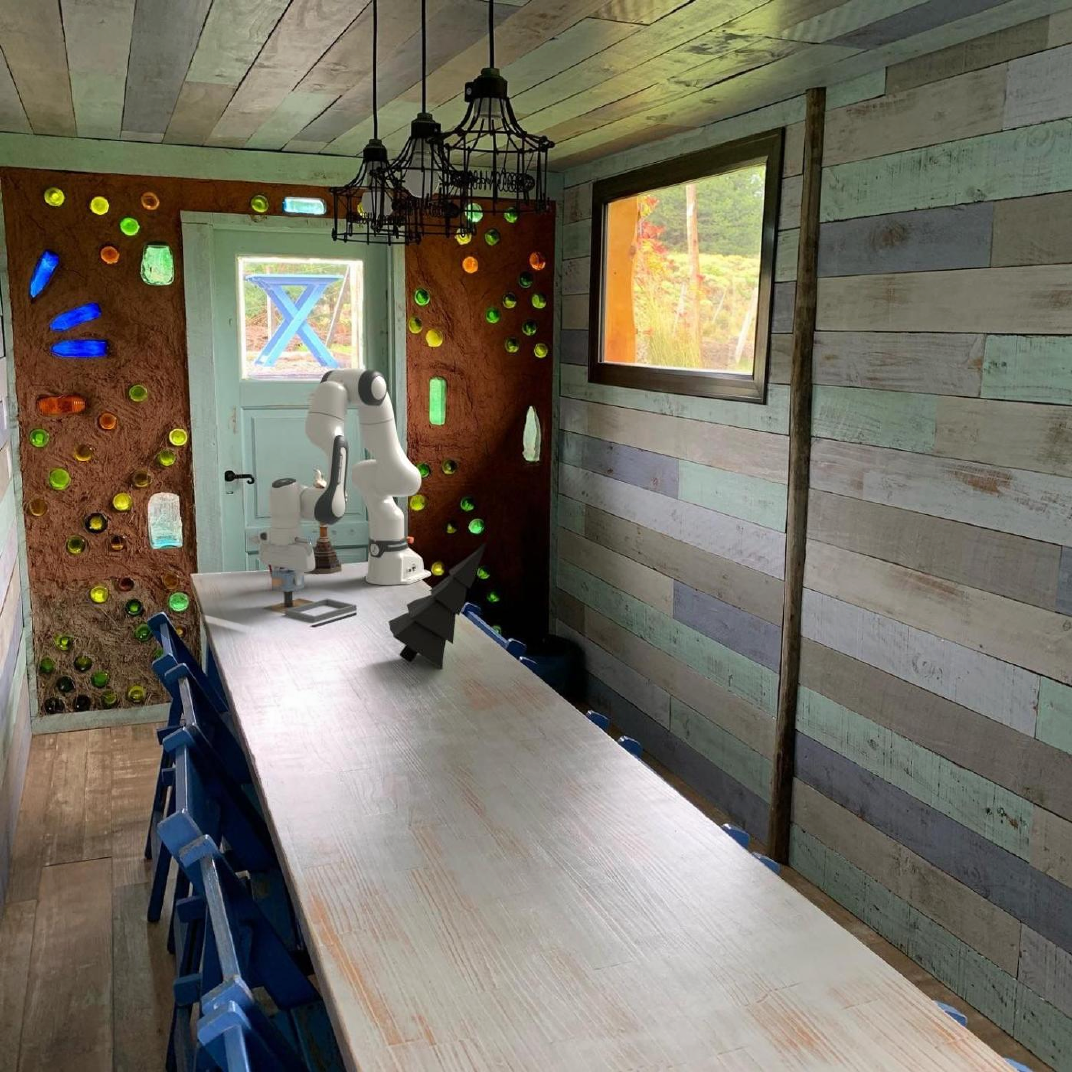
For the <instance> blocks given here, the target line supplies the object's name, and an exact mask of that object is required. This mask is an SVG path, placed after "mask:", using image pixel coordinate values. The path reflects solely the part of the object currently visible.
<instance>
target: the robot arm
mask: <svg viewBox="0 0 1072 1072" xmlns="http://www.w3.org/2000/svg"><path fill="white" fill-rule="evenodd" d="M309 404H310V405H309V408H308V410H307V411H308V412H307V416H306V418H305V423H304V432H305V435H306V438H307V439H308V441H310V443H312V445H314V446H315V447H317V448H318V449H320V450H321V451H323V452H324V453H325V454H326V457H327V461H328V462H327V473H326V486H325V488H324V489H318V488H316V487H313V486H312V487H311V486H307V485H304V484H301V483H299V482H298V480H297V479H296V478H293V477H285V478H279V479H276V480H274V481H273V482H271V485H270V488H269V492H268V493H269V495H268V512H269V514H270V522H269V529H267V530H264V531H260V532H258V534H257V535H258V539H259V543H258V555H259V556H258V557H259V561H260V562H261V563H262V564H264V565H267V566H268V565H271V569H272V571H277V570H279V568H280V567H283V568H287V569H292V570H295V574H297V575H296V578H294V579H293V584H294V585H301V578H302V576H303V574H304V575H305V573H310V572H309V571H313V570H314V568H315V558H314V551H313V550H314V549H313V544H312V543H311V542H310V541H309V540H308V539H306V538H303V534H302V533H303V532H302V531H303V529H302V528H303V527H302V522H301V520H306V521H310V522H318V523H319V522H320V523H324V524H327V525H328V526H332V525H336V524H337V523H338V522H339V521H340V520H342V518H343V517H344V515H345V514H346V510H347V502H346V499H347V498H346V496H345V491H346V489H347V477H348V466H349V465H348V463H349V453H350V451H349V444H348V443H349V442H348V440H347V439H346V438H345V423H346V418H347V413H348V408H349V406H350V407H351V406H352V407H354V406H356V408H357V416H358V422H359V429H360V436H361V442H362V445H363V448H364V449H365V450H366V451H368V452H369V454H370V455H371V456H373V459H365V460H359V461H358V462H356V463H355V464H354V466H353V467H352V470H351V473H350V474H351V475H350V480H351V483H352V485H353V486H354V488H355V489H356V490H358V491H357V492H359V493H360V495H361V497H362V498H363V501H364V503H365V506H366V507H365V508H367V509H366V510H367V513H368V522H369V523H368V525H369V537H368V542H367V543H368V549H369V552H368V559H367V560H368V561H367V572H366V573H365V582H367V583H369V584H373V585H382V586H392V585H411V584H413V583H416V582H418V581H420V580H423V579H425V578H428V577H430V576H431V575H432V573H431V571H429V570H427V569H424V568H425V567H424V561H423V558H422V557H421V556H420V555H419V554H418V553H416V552H415V551H413V549H411V548H410V547H409V544H413V543H414V540H415V539H414V537H412V536H407V537H405V515H404V513H403V510H402V509H401V508H400V507H399V506H398V505H397V504H396V502H395V500H394V498H395V497H396V498H405V497H412V496H414V495H416V494H417V493H418V492H419V490H420V488H421V486H422V475H421V472H420V471H419V469H418V468H417V467H416V466H415V465H414V464H412V462H411V461H410V460H409V459H408V457H407V455H406V454H405V451H404V450H403V448H402V446H401V444H400V439H399V436H398V432H397V425H396V419H395V414H394V408H393V405H392V401H391V397H390V394H389V393H388V385H387V380H386V379H385V377H384V376H383V374H382V373H381V372H379V371H377V370H373V369H362V368H347V369H345V368H344V369H337V368H336V369H331V370H328V371H326V372H325V373H324V374H323V376H322V377H321V380H320V382H319V384H318V385H317V388H316V389H315V391H314V393H313V396H312V398H311V401H310V403H309ZM393 497H394V498H393ZM418 579H419V580H418Z"/></svg>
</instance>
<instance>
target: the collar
mask: <svg viewBox="0 0 1072 1072" xmlns="http://www.w3.org/2000/svg"><path fill="white" fill-rule="evenodd" d="M271 575H272V578H271V589H273V590H278V591H281V592H284V591H285V592H289V591H292V592H293V591H298V590H300V589H304V588H305V587H306V586H305V573H304V574H303V576H302V578H301V585H294V584H293V579H294V578H296V575H297V574H295V570H292V569H287V568H285V569H281V570H277V571H272V572H271V574H270V576H271Z"/></svg>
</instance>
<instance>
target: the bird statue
mask: <svg viewBox="0 0 1072 1072" xmlns="http://www.w3.org/2000/svg"><path fill="white" fill-rule="evenodd" d="M313 472H314V473H315V475H314V476H313V478H314V479H313V481H312V482H313V483H312V485H313V487H314V488H318V489H324V488H325V486H326V482H327V480H325V478H324V477H325V476H326V474H325V475H324V472H321V471H320V470H319V469H318V468H313ZM345 496H346V503H347V502H348V500H347V498H348V497H349V495H348V494H347V491H346V490H345ZM318 523H319V524H318V528H319V537H318V538H317V539H316V544H315V547H314V549H313V551H314V558H315V568H314V570H313V571H309V572H308V573H310V574H316V575H325V574H326V575H328V574H335V573H339V572H342V563H341V562H340V560H339V558H338V555H337V552H336V550H335V548H334V546H332V543H331V541H332V540H331V539H330V538H329V537H328V527H329V525H328V524H324V523H320V522H318Z"/></svg>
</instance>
